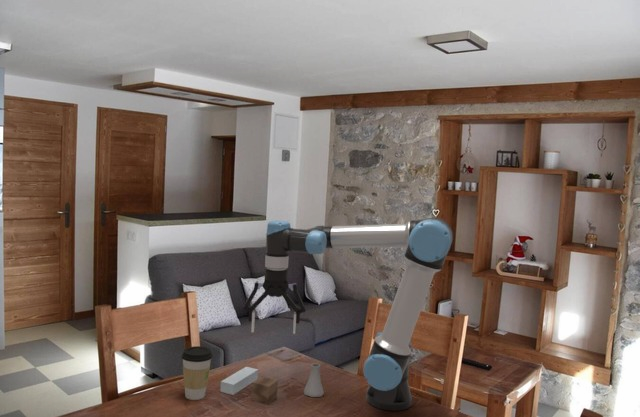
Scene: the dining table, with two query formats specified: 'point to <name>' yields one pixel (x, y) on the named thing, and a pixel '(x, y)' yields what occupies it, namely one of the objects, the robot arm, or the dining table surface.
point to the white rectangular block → (239, 380)
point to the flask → (314, 383)
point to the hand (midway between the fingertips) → (273, 332)
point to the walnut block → (264, 390)
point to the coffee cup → (196, 371)
